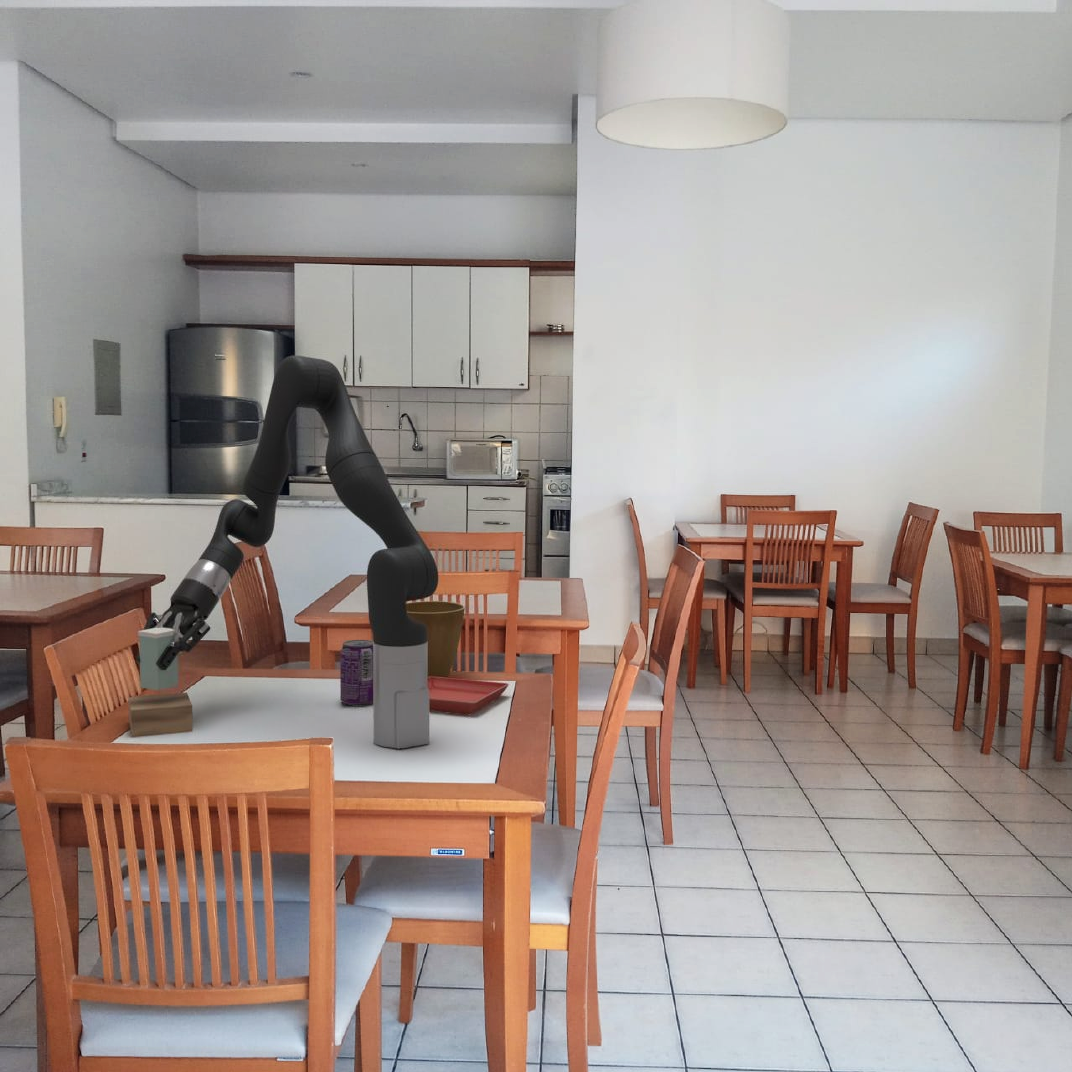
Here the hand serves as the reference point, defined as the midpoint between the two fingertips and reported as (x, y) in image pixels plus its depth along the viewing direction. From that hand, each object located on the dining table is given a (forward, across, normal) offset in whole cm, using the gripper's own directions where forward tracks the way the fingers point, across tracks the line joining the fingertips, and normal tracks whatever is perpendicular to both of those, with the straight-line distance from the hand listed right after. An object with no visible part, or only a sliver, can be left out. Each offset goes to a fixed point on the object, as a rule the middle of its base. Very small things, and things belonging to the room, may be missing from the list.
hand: (150, 665), depth 181 cm
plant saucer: (-22, +35, +39) cm, 57 cm away
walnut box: (+7, 0, +10) cm, 12 cm away
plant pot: (-33, +20, +49) cm, 62 cm away
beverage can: (-15, +19, +32) cm, 41 cm away
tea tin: (+2, 0, +4) cm, 5 cm away
